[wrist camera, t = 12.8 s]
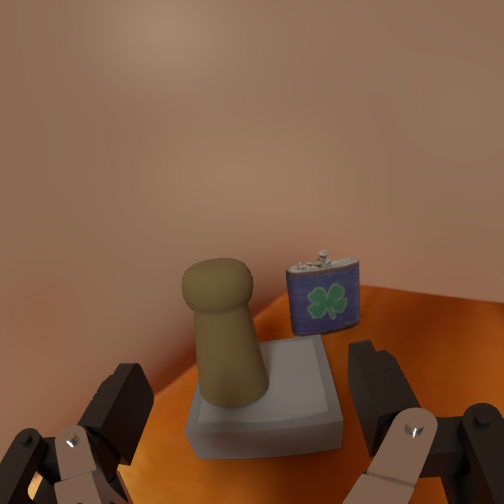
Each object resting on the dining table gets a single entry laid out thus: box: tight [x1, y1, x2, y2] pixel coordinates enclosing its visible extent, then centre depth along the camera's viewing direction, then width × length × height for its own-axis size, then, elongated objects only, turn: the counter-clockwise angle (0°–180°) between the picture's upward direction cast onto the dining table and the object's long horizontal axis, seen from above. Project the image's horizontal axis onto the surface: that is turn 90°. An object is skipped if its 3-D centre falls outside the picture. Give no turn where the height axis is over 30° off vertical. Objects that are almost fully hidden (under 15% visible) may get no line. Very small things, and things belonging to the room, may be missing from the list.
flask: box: [286, 250, 360, 337], centre depth 36 cm, size 9×3×11 cm, turn 92°
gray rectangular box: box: [184, 334, 344, 459], centre depth 26 cm, size 12×12×4 cm
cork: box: [182, 258, 269, 408], centre depth 23 cm, size 6×6×11 cm
